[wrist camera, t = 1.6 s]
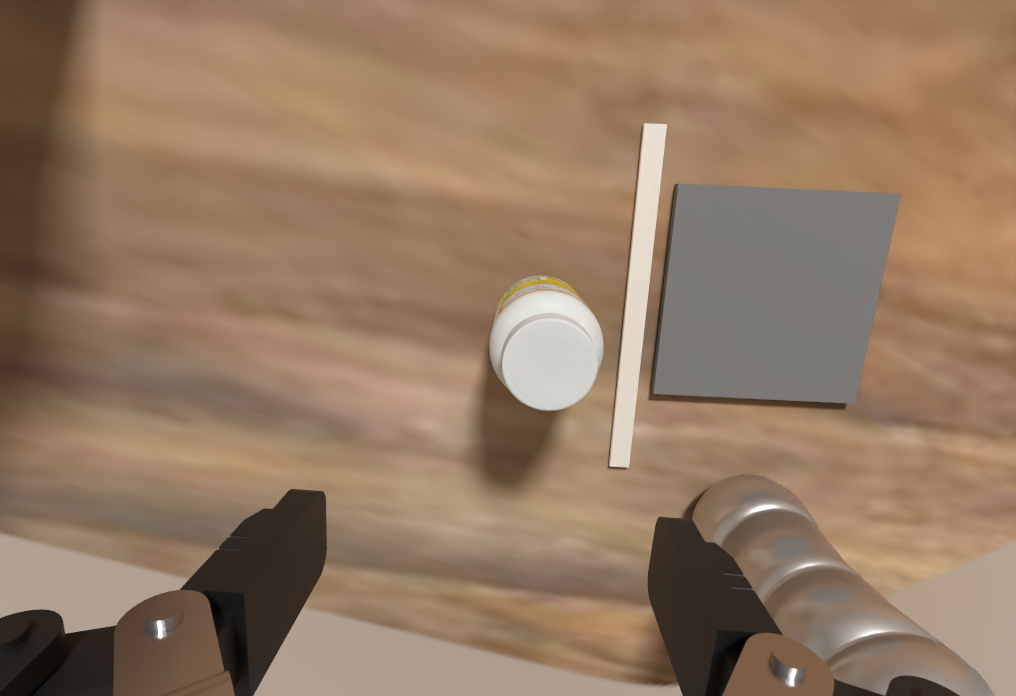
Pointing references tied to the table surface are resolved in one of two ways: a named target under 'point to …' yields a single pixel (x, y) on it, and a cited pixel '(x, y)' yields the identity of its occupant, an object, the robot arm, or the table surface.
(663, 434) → the table surface
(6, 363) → the table surface
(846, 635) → the plastic bottle
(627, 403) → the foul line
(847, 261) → the mat
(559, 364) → the supplement bottle
